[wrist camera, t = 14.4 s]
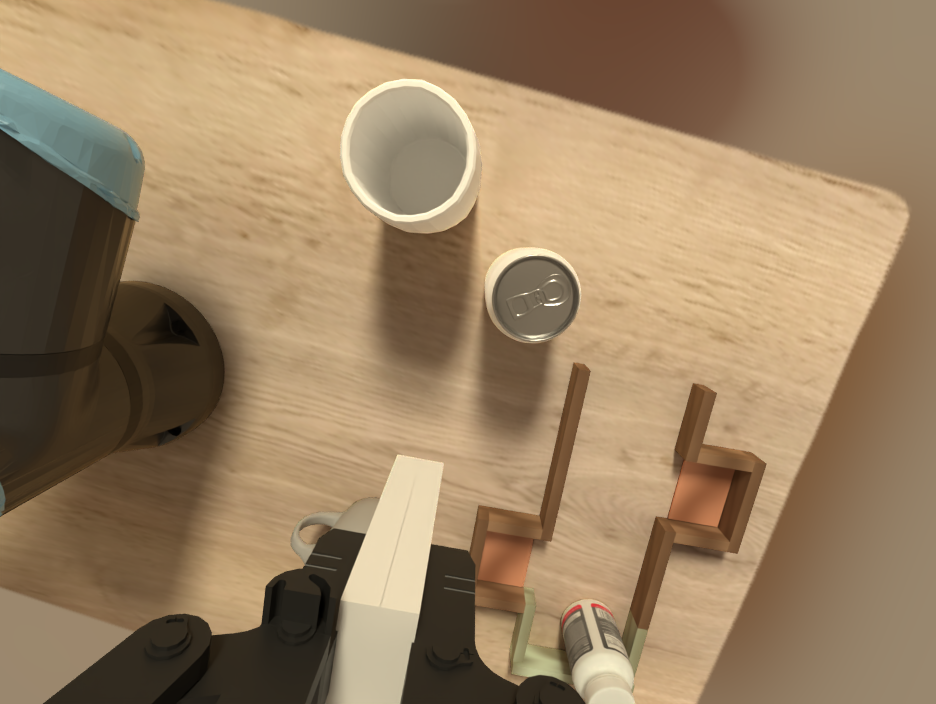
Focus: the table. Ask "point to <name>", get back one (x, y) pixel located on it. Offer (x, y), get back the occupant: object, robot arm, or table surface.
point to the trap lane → (689, 522)
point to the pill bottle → (597, 654)
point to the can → (532, 294)
